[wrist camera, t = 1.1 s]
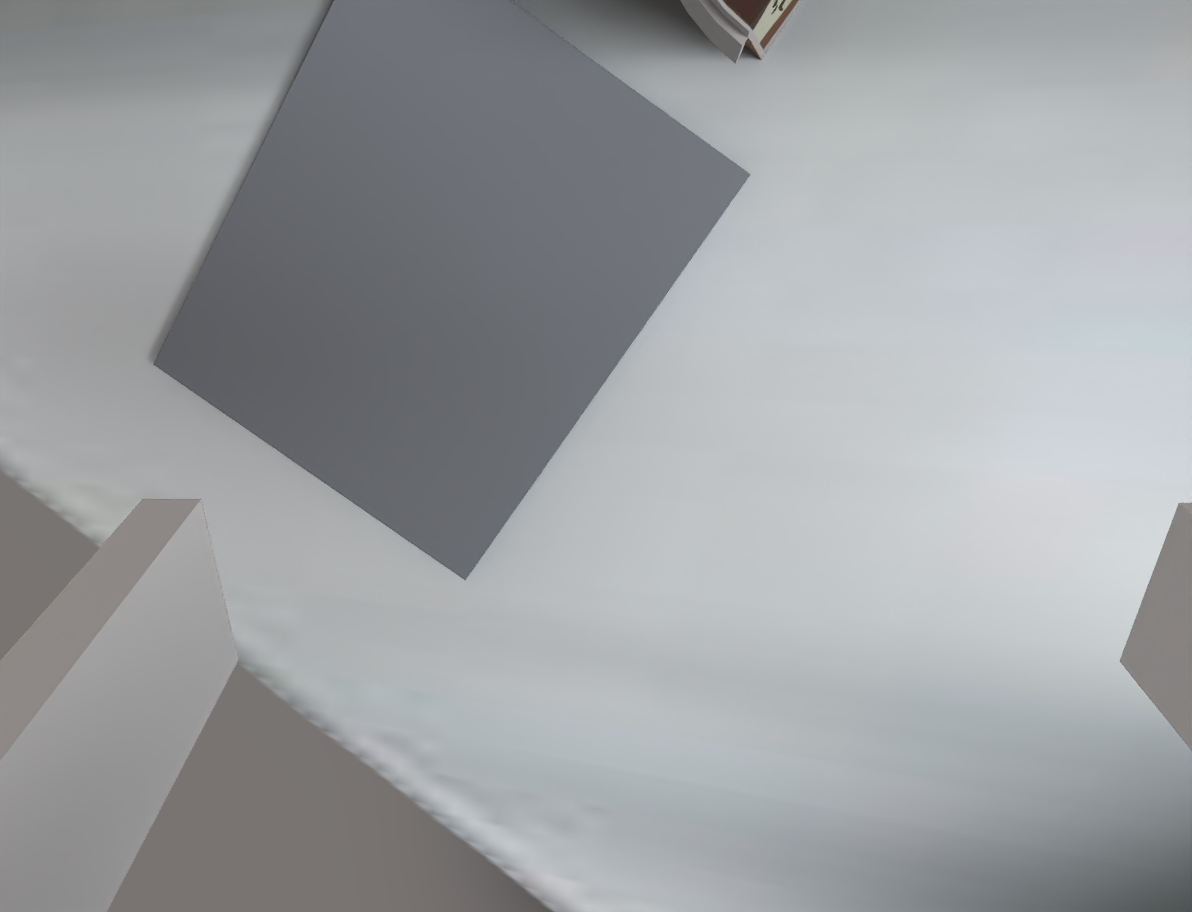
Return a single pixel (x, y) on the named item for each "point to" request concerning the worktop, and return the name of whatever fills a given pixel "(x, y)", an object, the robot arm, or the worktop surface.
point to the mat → (442, 260)
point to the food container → (741, 23)
